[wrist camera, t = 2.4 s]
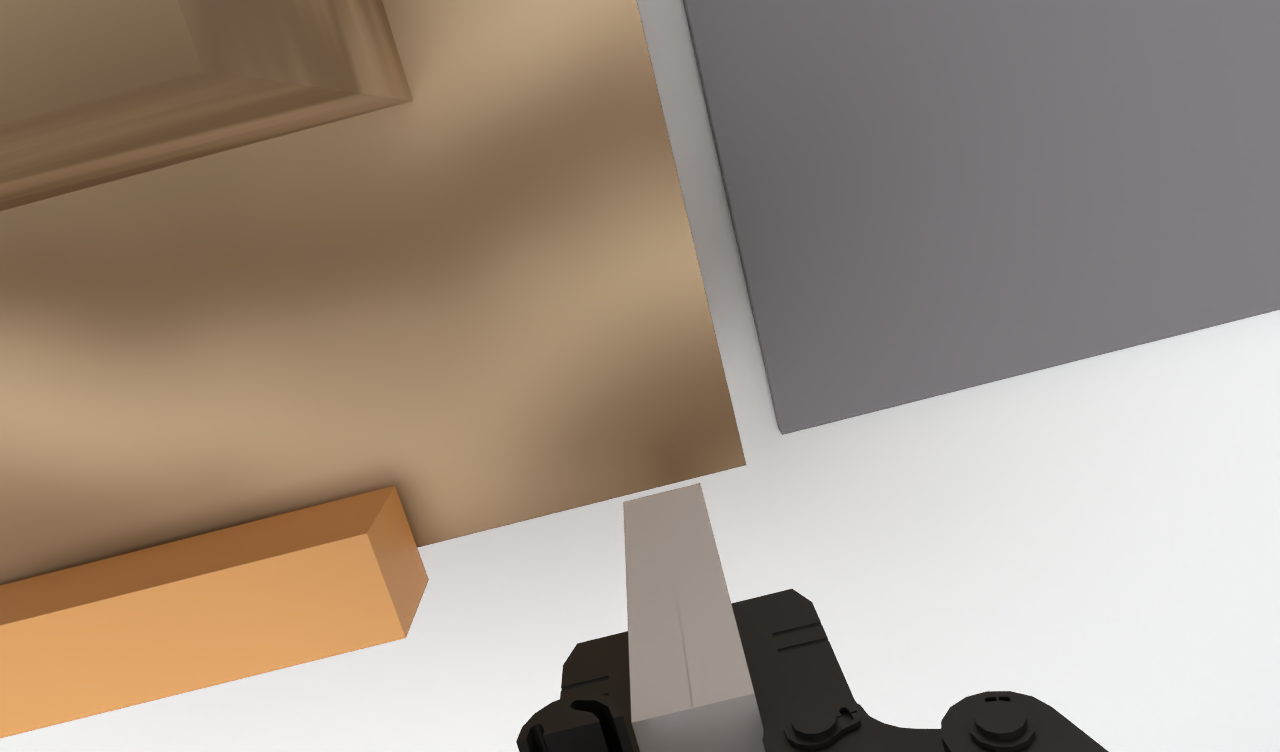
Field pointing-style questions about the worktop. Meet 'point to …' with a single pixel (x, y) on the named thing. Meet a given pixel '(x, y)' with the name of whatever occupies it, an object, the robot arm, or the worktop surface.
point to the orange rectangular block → (207, 610)
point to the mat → (988, 183)
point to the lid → (338, 269)
